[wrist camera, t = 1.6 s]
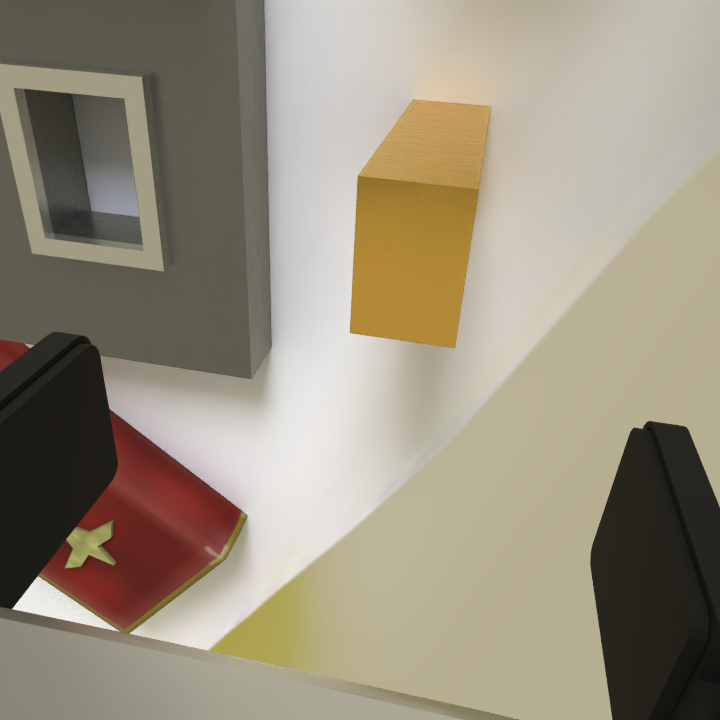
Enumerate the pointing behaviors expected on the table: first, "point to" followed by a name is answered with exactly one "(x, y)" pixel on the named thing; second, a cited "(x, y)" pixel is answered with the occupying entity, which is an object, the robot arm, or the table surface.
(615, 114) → the table surface
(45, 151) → the grey box with slot
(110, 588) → the hardcover book
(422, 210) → the brass peg in socket
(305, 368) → the table surface
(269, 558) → the table surface
